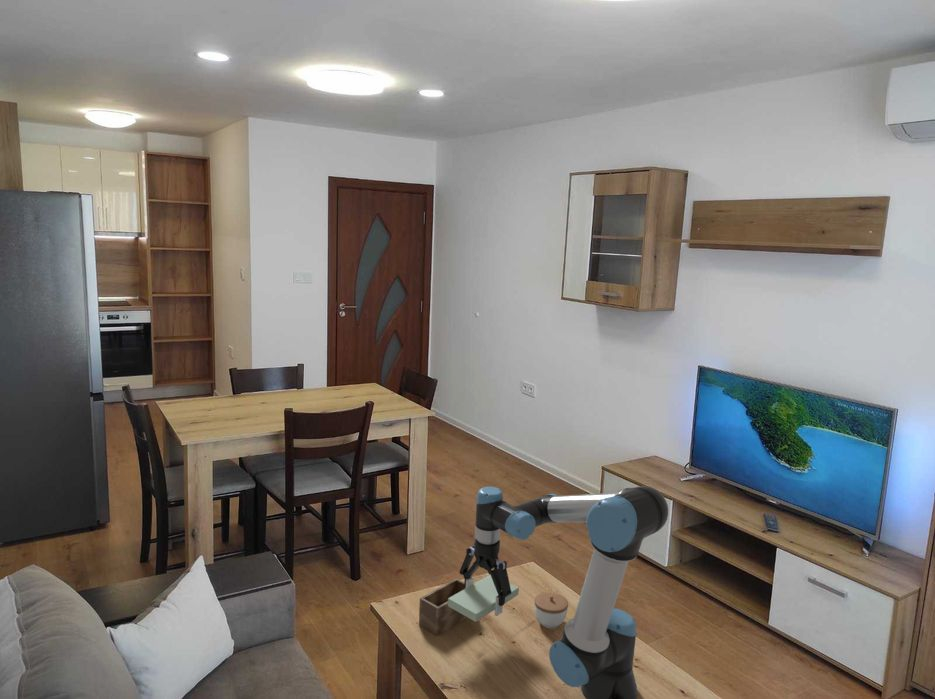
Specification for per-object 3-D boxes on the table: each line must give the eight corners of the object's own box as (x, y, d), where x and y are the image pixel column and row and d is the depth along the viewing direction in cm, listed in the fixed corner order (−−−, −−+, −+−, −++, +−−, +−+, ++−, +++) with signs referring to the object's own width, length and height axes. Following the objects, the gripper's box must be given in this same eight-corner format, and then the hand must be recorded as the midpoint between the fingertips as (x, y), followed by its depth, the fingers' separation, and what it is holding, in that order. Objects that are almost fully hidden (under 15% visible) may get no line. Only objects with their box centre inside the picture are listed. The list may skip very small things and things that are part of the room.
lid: (490, 583, 213) (491, 573, 213) (518, 597, 206) (518, 587, 206) (447, 609, 199) (448, 598, 198) (475, 625, 192) (476, 614, 191)
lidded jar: (565, 635, 210) (567, 608, 208) (531, 630, 212) (533, 602, 210) (567, 616, 220) (569, 590, 218) (534, 611, 222) (536, 585, 220)
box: (455, 605, 223) (456, 578, 221) (473, 615, 218) (474, 587, 216) (418, 627, 211) (419, 598, 209) (437, 638, 205) (438, 608, 204)
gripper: (526, 548, 194) (521, 617, 198) (466, 521, 209) (462, 585, 213) (510, 557, 188) (506, 627, 192) (449, 529, 203) (446, 594, 207)
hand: (483, 605), depth 203 cm, fingers closed on lid, 11 cm apart
